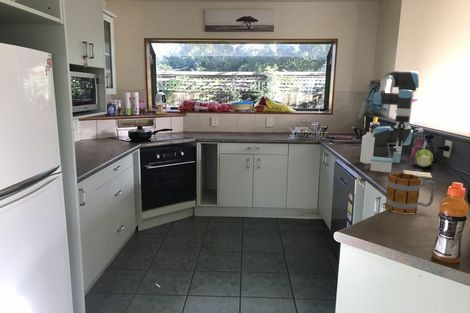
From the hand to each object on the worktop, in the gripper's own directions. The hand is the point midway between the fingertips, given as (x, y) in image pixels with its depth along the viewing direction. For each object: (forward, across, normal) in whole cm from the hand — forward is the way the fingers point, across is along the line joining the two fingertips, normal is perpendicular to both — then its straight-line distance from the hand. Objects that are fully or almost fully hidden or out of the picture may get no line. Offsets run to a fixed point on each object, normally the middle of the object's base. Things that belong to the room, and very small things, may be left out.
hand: (398, 149), depth 217 cm
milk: (+15, -20, -19) cm, 31 cm away
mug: (+16, +72, +4) cm, 74 cm away
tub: (+15, 0, -9) cm, 17 cm away
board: (+15, -1, +12) cm, 19 cm away
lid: (+8, 0, -7) cm, 10 cm away
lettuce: (+15, -28, +17) cm, 36 cm away
